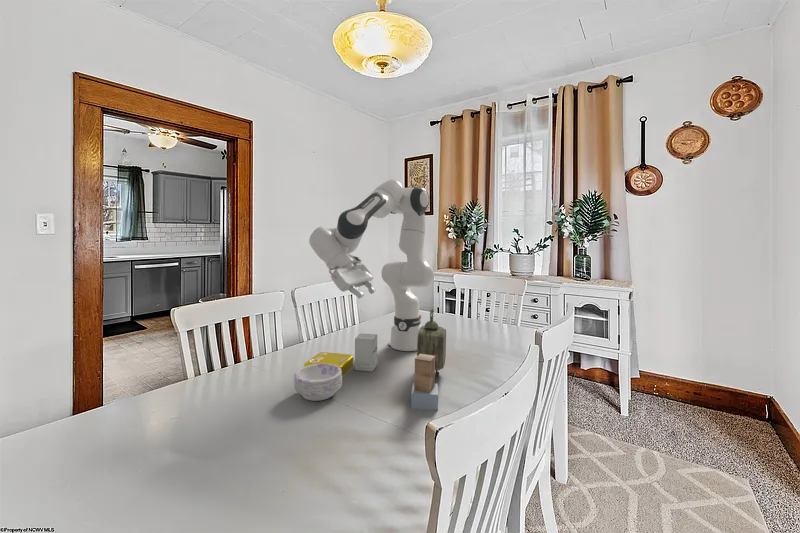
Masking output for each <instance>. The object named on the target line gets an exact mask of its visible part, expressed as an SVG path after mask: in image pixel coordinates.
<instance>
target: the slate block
mask: <svg viewBox="0 0 800 533" xmlns="http://www.w3.org/2000/svg"><path fill="white" fill-rule="evenodd" d="M410 402H411V405H410V406H411V407H410V408H411V409H412V410H427V409H428V411H429V410H430V411H432V410H433V411H434V410H435V411H438V410H439V384H438V383H435V387H434V388H433V390H432V391H431V392H430V393H427V392H421V391H416V390H414V382H412V388H411V401H410Z"/></svg>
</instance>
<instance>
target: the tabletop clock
mask: <svg viewBox="0 0 800 533" xmlns="http://www.w3.org/2000/svg"><path fill="white" fill-rule="evenodd" d="M419 354H426V355H433V356H435V377H436V376H437V377H438V376H440V372H439V371H440V370H443V369H444V368H445V363H446V358H447V357H446V355H447V329H446V328H445V327H442V326H439V325H438V323H437V322H436V321H435V320H434V309H433V308H431V309H430V312H429V320H428V321H427V322H425V324H424V325H422V326H421V327H420V329H419V332H418V338H417V350H416V357H417V356H418V355H419Z"/></svg>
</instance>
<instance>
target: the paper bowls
mask: <svg viewBox="0 0 800 533" xmlns="http://www.w3.org/2000/svg"><path fill="white" fill-rule="evenodd" d="M293 375H294V376H293V377H294V379H293V381H294V390H295V392H296V393H297V394H299V395H301V396H302V397H303V398H304V399H306V400H308V401H313V402H316V401H317V402H319V401H324V400H328V399H330V398H331V397H333V396H334V395H335V393H336V392H337V391H338V390H339V389H340V388H341V387H342V385H343V376H342V370H341V368H340V367H338V366H336V365H333V364H314V365H309V366H306V367H304V366H303V367H301V368H299V369H298V370H296V371H295V373H294V374H293Z"/></svg>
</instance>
